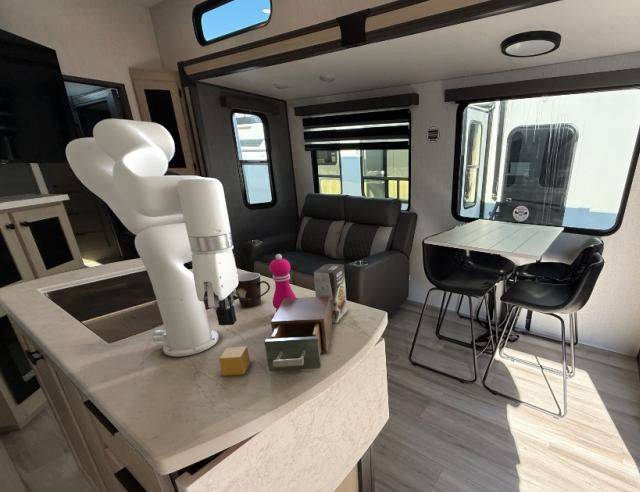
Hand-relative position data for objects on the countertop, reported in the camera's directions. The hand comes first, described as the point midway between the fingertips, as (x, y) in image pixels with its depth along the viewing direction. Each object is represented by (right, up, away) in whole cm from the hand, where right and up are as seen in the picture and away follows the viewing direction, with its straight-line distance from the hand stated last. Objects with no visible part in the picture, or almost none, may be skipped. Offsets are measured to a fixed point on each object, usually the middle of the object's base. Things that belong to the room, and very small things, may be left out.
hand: (227, 323), depth 70 cm
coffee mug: (-12, +1, +39) cm, 41 cm away
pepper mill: (+2, -1, +32) cm, 32 cm away
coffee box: (+17, -2, +30) cm, 35 cm away
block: (0, -11, +4) cm, 12 cm away
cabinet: (+13, -7, +17) cm, 22 cm away
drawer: (+14, -9, +6) cm, 18 cm away
